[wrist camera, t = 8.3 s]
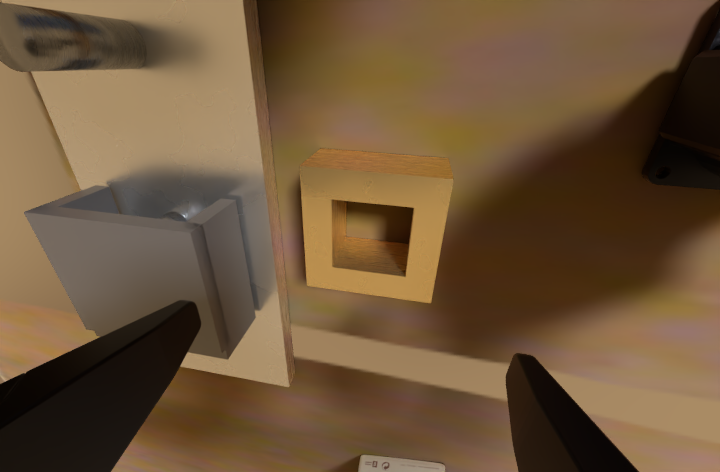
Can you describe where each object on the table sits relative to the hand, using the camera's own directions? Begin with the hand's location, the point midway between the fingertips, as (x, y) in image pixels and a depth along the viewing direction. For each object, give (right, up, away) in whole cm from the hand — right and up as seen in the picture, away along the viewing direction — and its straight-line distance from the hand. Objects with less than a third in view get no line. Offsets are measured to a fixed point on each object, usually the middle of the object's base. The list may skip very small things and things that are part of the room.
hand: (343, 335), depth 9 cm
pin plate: (-9, +4, +9) cm, 14 cm away
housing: (-10, +2, +9) cm, 14 cm away
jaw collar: (+1, +4, +7) cm, 9 cm away
